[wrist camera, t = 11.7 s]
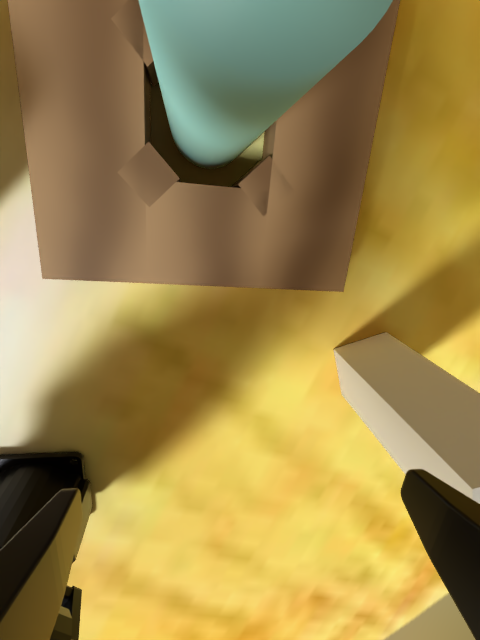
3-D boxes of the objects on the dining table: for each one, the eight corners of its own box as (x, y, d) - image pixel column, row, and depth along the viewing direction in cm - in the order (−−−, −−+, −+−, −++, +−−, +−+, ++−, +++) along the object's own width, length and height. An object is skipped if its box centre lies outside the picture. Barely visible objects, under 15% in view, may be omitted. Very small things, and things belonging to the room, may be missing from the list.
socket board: (60, 268, 18) (42, 278, 16) (19, -127, 13) (-18, -199, 11) (326, 281, 21) (343, 291, 19) (382, -42, 16) (416, -84, 13)
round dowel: (170, 164, 17) (114, 54, 4) (170, 76, 16) (92, -475, 3) (243, 172, 18) (387, 96, 5) (249, 87, 17) (469, -320, 4)
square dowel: (341, 394, 24) (471, 557, 13) (333, 348, 23) (472, 489, 12) (391, 378, 24) (561, 525, 13) (386, 332, 23) (572, 454, 12)
